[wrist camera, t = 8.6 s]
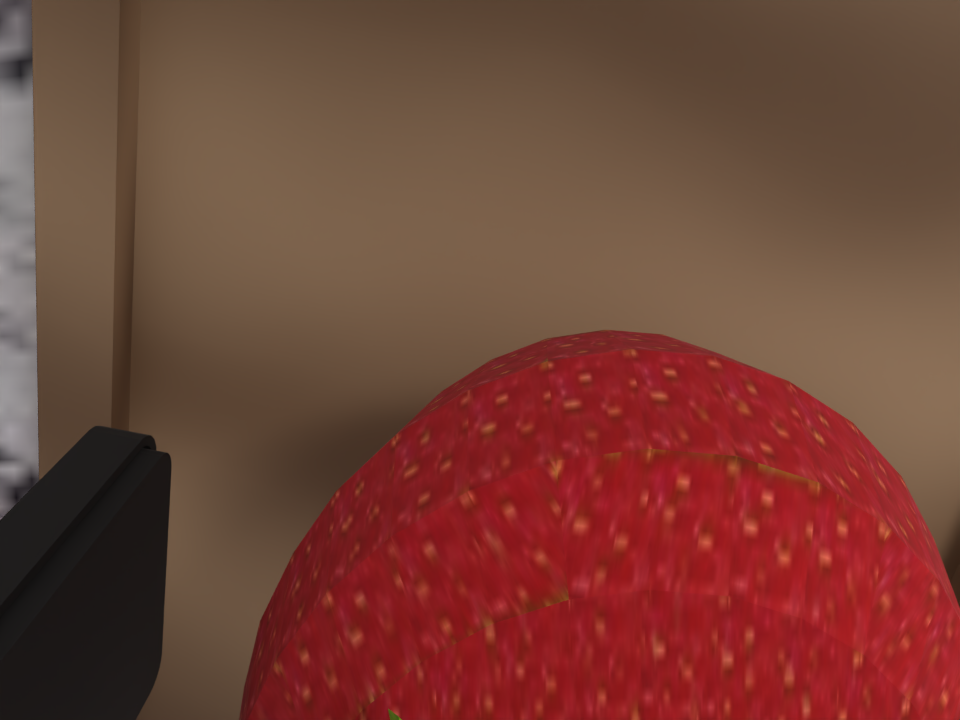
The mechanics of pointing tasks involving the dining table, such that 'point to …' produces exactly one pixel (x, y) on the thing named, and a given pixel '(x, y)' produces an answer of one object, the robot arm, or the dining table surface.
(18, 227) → the dining table surface
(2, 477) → the dining table surface
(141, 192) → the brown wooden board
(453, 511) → the strawberry
